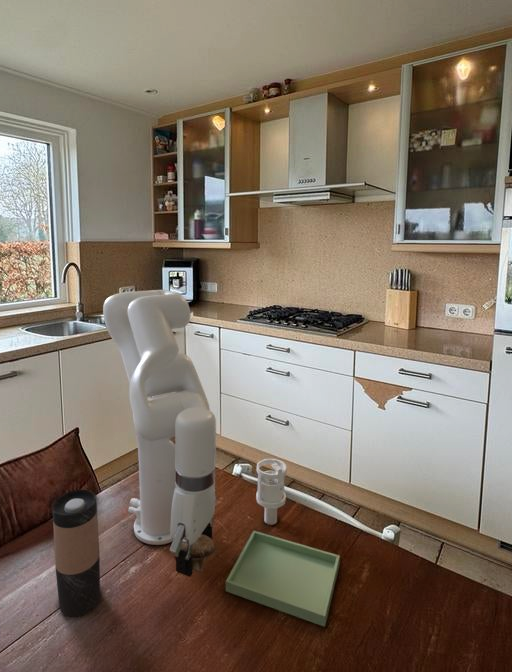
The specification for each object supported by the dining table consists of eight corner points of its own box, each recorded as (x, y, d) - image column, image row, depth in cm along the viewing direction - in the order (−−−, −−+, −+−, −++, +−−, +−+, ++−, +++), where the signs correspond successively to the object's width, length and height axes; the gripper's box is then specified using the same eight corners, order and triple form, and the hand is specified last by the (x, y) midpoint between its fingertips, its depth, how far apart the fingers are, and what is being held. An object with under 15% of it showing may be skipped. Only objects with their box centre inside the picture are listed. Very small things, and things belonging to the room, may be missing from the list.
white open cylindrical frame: (266, 534, 97) (267, 473, 95) (250, 516, 103) (251, 458, 101) (291, 524, 100) (292, 464, 98) (274, 507, 106) (275, 451, 104)
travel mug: (109, 589, 82) (105, 493, 79) (82, 623, 74) (77, 519, 72) (77, 578, 84) (72, 485, 81) (48, 611, 77) (41, 510, 74)
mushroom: (207, 574, 76) (201, 535, 78) (168, 581, 78) (164, 542, 80) (224, 564, 83) (218, 528, 85) (188, 570, 85) (183, 535, 87)
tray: (225, 591, 81) (225, 581, 81) (253, 538, 95) (253, 530, 95) (325, 627, 74) (325, 616, 74) (339, 564, 88) (339, 555, 88)
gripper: (199, 447, 89) (198, 522, 92) (151, 496, 73) (152, 585, 76) (232, 455, 86) (230, 533, 89) (190, 509, 70) (189, 601, 73)
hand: (194, 556), depth 82 cm, fingers closed on mushroom, 7 cm apart
